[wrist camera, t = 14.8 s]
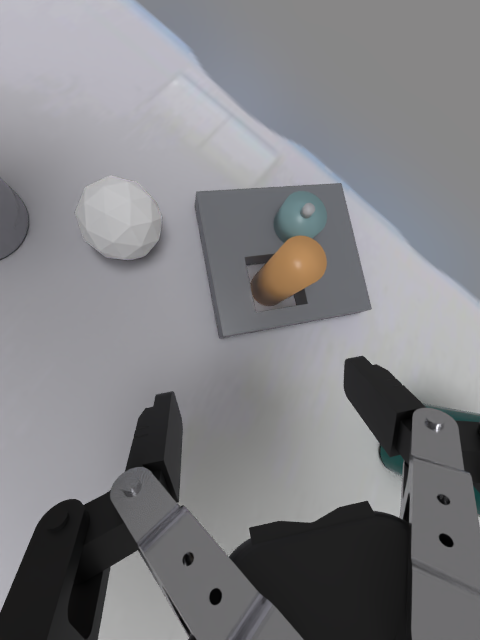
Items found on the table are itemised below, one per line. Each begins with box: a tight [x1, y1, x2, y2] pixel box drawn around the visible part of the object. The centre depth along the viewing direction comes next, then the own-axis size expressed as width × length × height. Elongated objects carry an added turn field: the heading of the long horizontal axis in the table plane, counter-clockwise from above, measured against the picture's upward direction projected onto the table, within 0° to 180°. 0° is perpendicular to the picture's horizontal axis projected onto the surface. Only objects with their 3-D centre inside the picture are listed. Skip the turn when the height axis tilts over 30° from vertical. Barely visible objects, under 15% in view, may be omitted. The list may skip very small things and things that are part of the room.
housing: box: [195, 183, 372, 338], centre depth 32 cm, size 18×16×7 cm
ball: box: [75, 175, 162, 260], centre depth 28 cm, size 8×8×8 cm
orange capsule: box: [251, 236, 327, 306], centre depth 29 cm, size 4×4×10 cm
